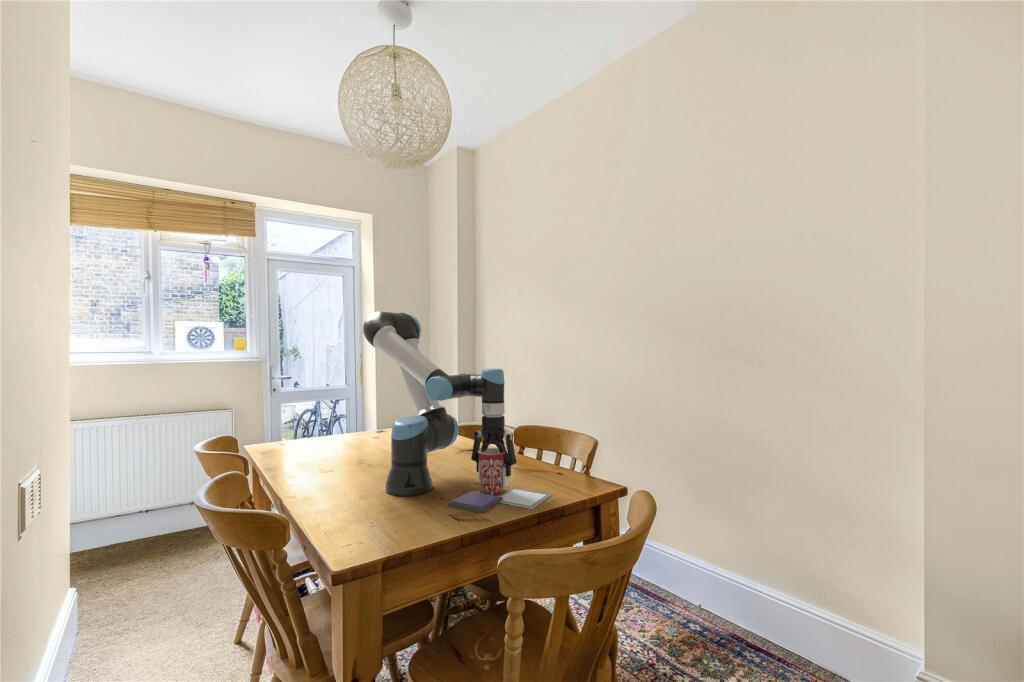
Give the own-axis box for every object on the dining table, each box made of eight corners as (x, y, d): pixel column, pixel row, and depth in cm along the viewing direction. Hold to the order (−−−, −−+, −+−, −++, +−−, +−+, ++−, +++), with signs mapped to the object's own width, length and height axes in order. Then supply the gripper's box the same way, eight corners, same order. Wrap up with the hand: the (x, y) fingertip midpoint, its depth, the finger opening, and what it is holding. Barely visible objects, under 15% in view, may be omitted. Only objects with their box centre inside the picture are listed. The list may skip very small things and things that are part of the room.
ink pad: (448, 505, 138) (448, 501, 138) (470, 494, 148) (470, 490, 148) (482, 513, 132) (482, 508, 132) (502, 500, 143) (502, 496, 143)
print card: (491, 501, 142) (491, 499, 142) (512, 488, 155) (512, 487, 155) (532, 508, 136) (532, 507, 136) (551, 495, 148) (551, 494, 148)
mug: (506, 496, 146) (506, 453, 147) (477, 496, 146) (477, 454, 146) (505, 484, 159) (505, 445, 159) (478, 485, 159) (478, 445, 159)
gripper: (459, 414, 154) (460, 482, 154) (516, 419, 144) (517, 491, 144) (472, 412, 161) (472, 477, 161) (527, 415, 151) (527, 485, 151)
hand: (493, 484), depth 152 cm, fingers closed on mug, 9 cm apart
